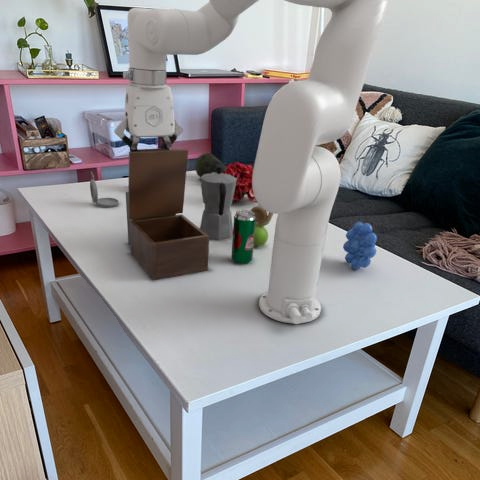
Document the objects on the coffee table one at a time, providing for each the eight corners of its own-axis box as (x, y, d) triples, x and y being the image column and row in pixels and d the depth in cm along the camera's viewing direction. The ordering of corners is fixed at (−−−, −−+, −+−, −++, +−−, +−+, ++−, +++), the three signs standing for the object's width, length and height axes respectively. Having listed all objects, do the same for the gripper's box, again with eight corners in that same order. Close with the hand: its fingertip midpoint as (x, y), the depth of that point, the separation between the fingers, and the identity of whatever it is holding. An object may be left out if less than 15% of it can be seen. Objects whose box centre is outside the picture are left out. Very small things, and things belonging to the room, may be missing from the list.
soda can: (248, 266, 115) (252, 217, 108) (228, 262, 116) (231, 214, 110) (254, 258, 119) (259, 211, 113) (235, 254, 120) (238, 207, 114)
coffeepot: (196, 224, 136) (198, 158, 126) (229, 225, 137) (233, 159, 128) (202, 247, 123) (204, 175, 113) (238, 246, 124) (243, 176, 115)
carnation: (202, 200, 178) (260, 226, 154) (167, 170, 165) (224, 193, 141) (226, 164, 178) (288, 185, 153) (193, 131, 165) (254, 148, 140)
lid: (188, 150, 107) (178, 140, 111) (129, 153, 101) (121, 142, 105) (182, 213, 117) (174, 202, 121) (129, 219, 111) (121, 208, 115)
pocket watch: (123, 204, 146) (121, 170, 141) (102, 211, 140) (99, 176, 134) (103, 198, 149) (101, 165, 144) (82, 204, 143) (78, 170, 138)
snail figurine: (269, 251, 123) (274, 205, 117) (244, 247, 124) (248, 201, 118) (272, 243, 128) (277, 198, 122) (248, 240, 129) (252, 195, 122)
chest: (208, 270, 112) (209, 236, 107) (153, 280, 106) (152, 244, 101) (181, 246, 122) (182, 214, 118) (130, 254, 116) (128, 220, 112)
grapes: (383, 277, 115) (395, 229, 108) (358, 280, 113) (369, 231, 106) (357, 257, 124) (367, 212, 118) (334, 259, 122) (343, 213, 116)
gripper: (113, 80, 95) (118, 172, 105) (193, 81, 103) (191, 167, 112) (101, 75, 101) (108, 163, 110) (179, 76, 108) (178, 159, 118)
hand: (150, 164), depth 111 cm, fingers closed on lid, 6 cm apart
